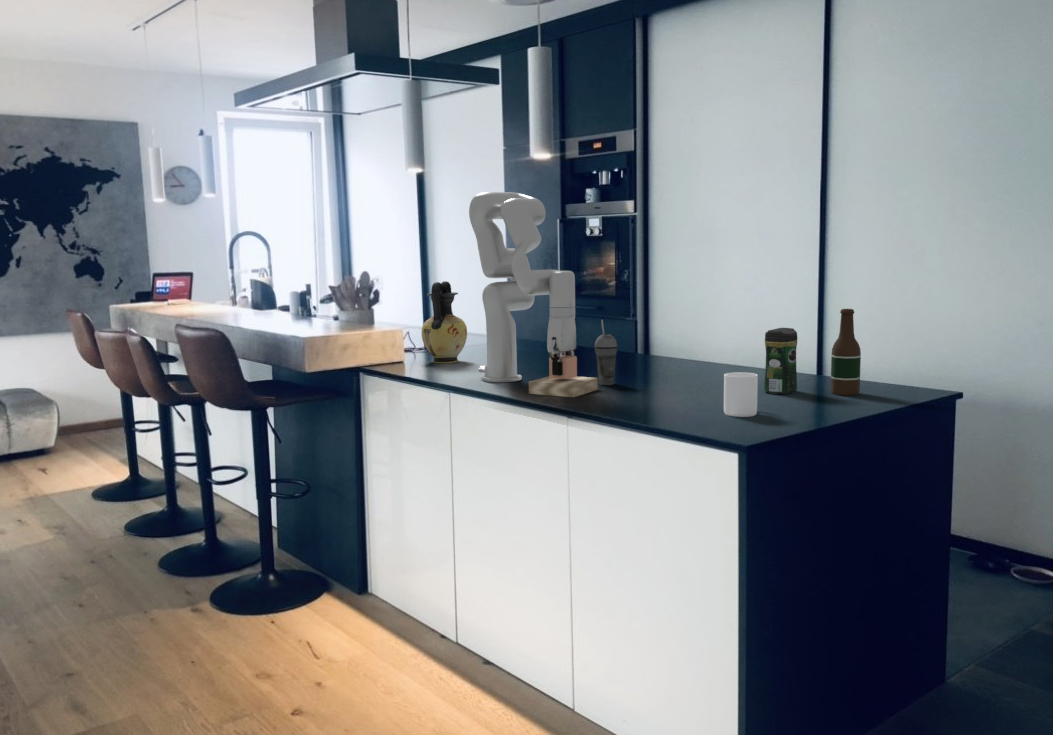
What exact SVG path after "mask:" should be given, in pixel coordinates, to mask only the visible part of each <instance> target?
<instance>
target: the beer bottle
mask: <svg viewBox="0 0 1053 735" xmlns="http://www.w3.org/2000/svg"><path fill="white" fill-rule="evenodd" d="M839 313H840V314H841V315H840V321H839V322H840V324H839V325H840V326H839V333H838V337H837V339H836V340H835V342H834V344H833V346H832V349H831V356H830V357H831V360H830V362H831V364H830V366H831V368H830V393H831V394H833V395H835V396H844V397H848V396H852V397H853V396H857V395H859V394H860V386H861V354H862V353H861V351H862V350H861V347H860V344H859V342H858V340H857V339H856V337H855V331H854V330H855V326H854V314H855V310H854V309H853V308H841V309H840V312H839Z"/></svg>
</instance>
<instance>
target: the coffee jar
mask: <svg viewBox="0 0 1053 735" xmlns="http://www.w3.org/2000/svg"><path fill="white" fill-rule="evenodd" d="M764 345H765V346H764V347H765V366H764V367H765V370H764V382H763V383H764V386H763V390H764V392H766V393H769V394H774V395H777V394H783V395H785V394H790V393H794V392H796V391H797V390H798V375H797V349H798V348H797V346H798V331H796V330H795V328H792V327H778V328H774V329H769V330H767V331H766V332H765V334H764Z"/></svg>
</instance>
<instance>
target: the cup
mask: <svg viewBox="0 0 1053 735" xmlns="http://www.w3.org/2000/svg"><path fill="white" fill-rule="evenodd" d="M758 376H759V375H758V374H757V373H753V372H745V371H743V372H742V371H740V372H739V371H738V372H726V373H724V374H723V413H724V414H725V416H728V417H737V418H748V417H754V416H756V415H757V413H758V385H759V384H758V382H759V381H758Z"/></svg>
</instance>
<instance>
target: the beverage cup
mask: <svg viewBox="0 0 1053 735" xmlns="http://www.w3.org/2000/svg"><path fill="white" fill-rule="evenodd" d="M600 321H601V330H602V334H600V335H599V336H598V337H597V338H596V340H595V343H594V347H593V348H594V352H595V355H596V358H595V359H596V368H597V378H598V385H602V386H612V385H614V383H615V382H614V380H615V370H616V361H617V360H616V358H617V352H618V343H617V340H616V339H615V337H614V336H613V335H612V334H608V333H605V328H604V327H605V326H604V320H603V319H601V320H600Z"/></svg>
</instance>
